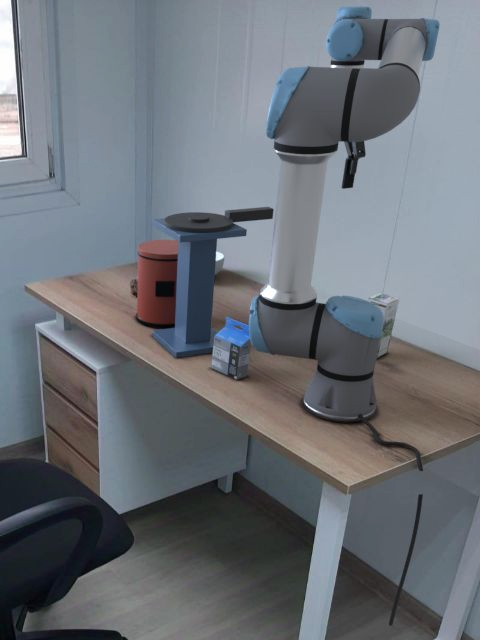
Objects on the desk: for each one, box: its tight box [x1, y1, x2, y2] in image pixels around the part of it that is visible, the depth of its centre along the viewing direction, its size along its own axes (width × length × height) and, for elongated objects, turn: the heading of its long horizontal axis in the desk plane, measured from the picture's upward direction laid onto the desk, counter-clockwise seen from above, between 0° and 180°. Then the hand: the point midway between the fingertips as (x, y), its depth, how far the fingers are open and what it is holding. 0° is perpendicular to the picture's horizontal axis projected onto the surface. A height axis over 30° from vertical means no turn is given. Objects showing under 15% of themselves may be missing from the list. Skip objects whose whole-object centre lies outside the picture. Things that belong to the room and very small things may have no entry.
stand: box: [151, 217, 248, 359], centre depth 185 cm, size 17×17×30 cm
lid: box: [164, 206, 275, 233], centre depth 178 cm, size 28×16×2 cm, turn 110°
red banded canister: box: [135, 239, 178, 330], centre depth 202 cm, size 16×16×20 cm
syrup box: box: [366, 293, 400, 360], centre depth 183 cm, size 6×6×14 cm
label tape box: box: [210, 316, 252, 380], centre depth 173 cm, size 9×4×12 cm, turn 37°
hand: (330, 182), depth 183 cm, fingers open, 13 cm apart
